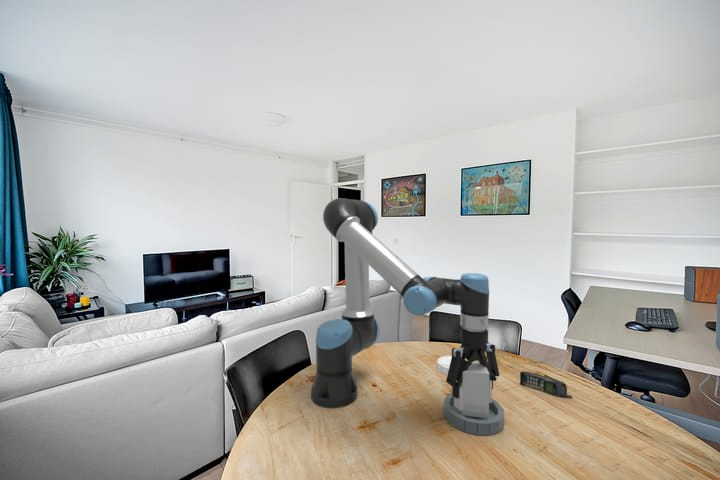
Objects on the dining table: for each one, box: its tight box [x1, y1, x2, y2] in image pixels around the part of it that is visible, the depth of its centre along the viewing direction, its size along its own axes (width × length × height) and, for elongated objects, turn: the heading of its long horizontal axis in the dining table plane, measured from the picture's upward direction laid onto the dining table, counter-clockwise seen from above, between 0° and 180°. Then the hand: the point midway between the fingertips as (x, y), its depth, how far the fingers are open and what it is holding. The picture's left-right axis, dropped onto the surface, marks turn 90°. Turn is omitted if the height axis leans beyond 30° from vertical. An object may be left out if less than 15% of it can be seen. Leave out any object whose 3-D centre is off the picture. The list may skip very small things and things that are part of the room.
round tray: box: [443, 392, 505, 437], centre depth 89 cm, size 16×16×3 cm
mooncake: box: [436, 355, 452, 376], centre depth 119 cm, size 12×12×4 cm
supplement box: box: [461, 361, 489, 418], centre depth 89 cm, size 7×7×13 cm
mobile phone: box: [519, 370, 573, 399], centre depth 103 cm, size 5×3×15 cm
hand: (472, 404), depth 89 cm, fingers closed on supplement box, 10 cm apart
